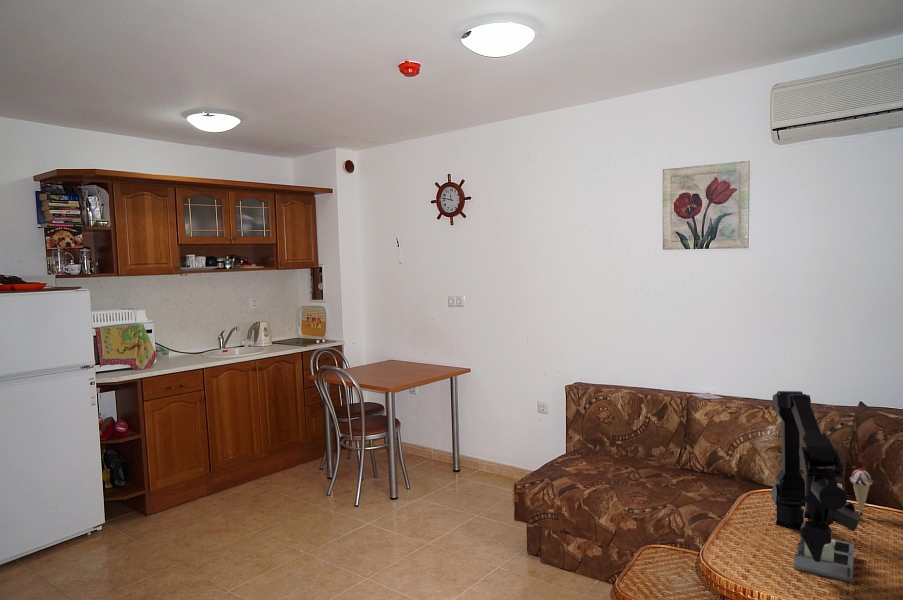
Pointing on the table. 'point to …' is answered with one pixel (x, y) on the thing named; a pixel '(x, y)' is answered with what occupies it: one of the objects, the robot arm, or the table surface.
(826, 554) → the pale sage upright block
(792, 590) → the table surface
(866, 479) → the ice cream cone
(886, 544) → the table surface
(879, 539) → the table surface
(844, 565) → the gray compartment tray
